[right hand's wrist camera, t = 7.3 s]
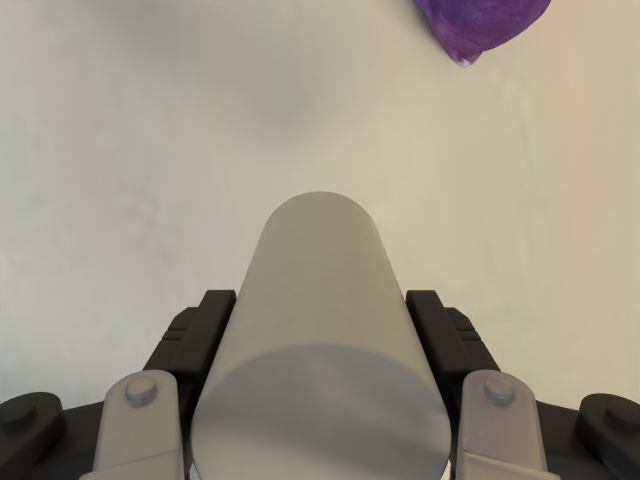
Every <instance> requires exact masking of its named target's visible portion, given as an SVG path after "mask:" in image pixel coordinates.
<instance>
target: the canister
mask: <svg viewBox="0 0 640 480" xmlns="http://www.w3.org/2000/svg"><path fill="white" fill-rule="evenodd" d="M190 447H191V454H192V458H193V462H194V466H195V468H196V470H197V473H198V475H199V477H200V479H201V480H440V479H441V477H442V476H443V473H444V471H445V468H446V466H447V463H448V459H449V455H450V450H451V427H450V421H449V417H448V414H447V411H446V408H445V405H444V403H443V400H442V397H441V395H440V392H439V390H438V387H437V384H436V382H435V379H434V376H433V374H432V371H431V369H430V366H429V363H428V361H427V358H426V356H425V353H424V350H423V348H422V345H421V342H420V340H419V337H418V335H417V332H416V329H415V327H414V324H413V322H412V319H411V316H410V314H409V311H408V308H407V306H406V303H405V301H404V298H403V295H402V293H401V290H400V288H399V285H398V282H397V280H396V277H395V274H394V272H393V269H392V267H391V264H390V261H389V259H388V256H387V254H386V251H385V248H384V246H383V243H382V240H381V238H380V235H379V233H378V230H377V228H376V225H375V223H374V221H373V220H372V218H371V217H370V215H369V214H368V213H367V212H366V211H365V210H364V209H363V208H362V207H361V206H360V205H359V204H357V203H356V202H354V201H353V200H351V199H349V198H347V197H345V196H342V195H339V194H336V193H331V192H309V193H304V194H301V195H298V196H295V197H293V198H291V199H289V200H288V201H286V202H285V203H283V204H282V205H280V206H279V207H278V208H277V209H276V210H275V211H274V212H273V213H272V215H271V216H270V217H269V219H268V220H267V222H266V224H265V226H264V228H263V231H262V234H261V236H260V239H259V242H258V244H257V247H256V250H255V252H254V255H253V258H252V260H251V263H250V265H249V268H248V271H247V273H246V276H245V279H244V281H243V284H242V287H241V289H240V292H239V295H238V297H237V300H236V303H235V305H234V308H233V311H232V313H231V316H230V319H229V321H228V324H227V326H226V329H225V332H224V334H223V337H222V340H221V342H220V345H219V348H218V350H217V353H216V356H215V358H214V361H213V364H212V366H211V369H210V372H209V374H208V377H207V379H206V382H205V385H204V387H203V390H202V393H201V395H200V398H199V401H198V403H197V406H196V409H195V412H194V415H193V419H192V422H191V430H190Z"/></svg>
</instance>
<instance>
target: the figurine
mask: <svg viewBox="0 0 640 480" xmlns="http://www.w3.org/2000/svg"><path fill="white" fill-rule="evenodd" d="M414 1H415V3H416V4H417V5H418V6H419V7H420V8H421V9H423V10H424V12H425V13H426V16H427V18H428V21H429V24H430V26H431V29H432V31H433V33H434V35H435V37H436V38H437V40H438V41H439V42H440V44H441V45H442V47H443V48H444V49H445V51H446V52H447V54H448V55H449V56H450V58H451V59H452V60H453V61H454V62H455V63H457V64H458V65H460V66H462V67H465V68H466V67H469V66H470V65H472V64H473V63H474V62H475V61H476V60H477V59H478V58H479V56H480V55H481V53H482V52H483V51H487V50H490V49H493V48H495V47H497V46H499V45H501V44H504V43H506V42H507V41H509V40H511V39H512V38H514V37H515V36H517V35H518V34H520V33H521V32H523V31H524V30H525V29H527V28H528V27H529V26H530V25H531V24H532V23H533V22H535V21H536V20H537V19H538V18H539V17H540V16H541V15H542V14H543V13H544V12H545V10H546V9H547V7H548V5H549V4H550V2H551V0H414Z"/></svg>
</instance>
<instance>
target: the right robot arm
mask: <svg viewBox="0 0 640 480" xmlns="http://www.w3.org/2000/svg"><path fill="white" fill-rule="evenodd" d="M236 300H237V299H236V293H235V291H234V290H207V292H206V294H205V295H204V297H203V299H202V301H201V303H200V305H199V307H188V308H186V309H185V310H184V311H182V312H181V313H179V314H178V315H177V316H175V317H174V319H173V321H172V322H171V324H170V326H169V327H168V331H166V332H165V334H164V335H163V337H162V341H160V342H159V344H158V345H157V347H156V349H155V350H154V352H153V353H152V355H151V357H150V358H149V360H148V362H147V363H146V365H145V367H144V368H143V370H142V371H140V372H136V373H133V374H131V375H128V376H126V377H124V378H123V379H121V380H119V381H118V382H117V383H115V384H114V385H113V386H112V387H111V388H110V390H109V391H108V392H107V394H106V396H105V400H104V401H102V402H98V403H94V404H90V405H85V406H81V407H76V408H72V409H67V410H63V408H62V405H61V401H60V399H59V398H58V397H57V396H56V395H54V394H52V393H47V392H35V393H29V394H24V395H21V396H18V397H15V398H12V399H10V400H8V401H6V402H4V403H2V404H0V480H191V474H190V469H191V466H192V463H193V458H192V454H191V447H190V430H191V422H192V419H193V415H194V412H195V409H196V406H197V403H198V401H199V398H200V395H201V393H202V390H203V387H204V385H205V382H206V379H207V377H208V374H209V372H210V369H211V366H212V364H213V361H214V358H215V356H216V353H217V350H218V348H219V345H220V342H221V340H222V337H223V334H224V332H225V329H226V326H227V324H228V321H229V319H230V316H231V313H232V311H233V308H234V305H235V303H236ZM405 303H406V306H407V308H408V311H409V314H410V316H411V319H412V322H413V324H414V327H415V329H416V332H417V335H418V337H419V340H420V342H421V345H422V348H423V350H424V353H425V356H426V358H427V361H428V363H429V366H430V369H431V371H432V374H433V376H434V379H435V382H436V384H437V387H438V390H439V392H440V395H441V397H442V400H443V403H444V405H445V408H446V411H447V414H448V417H449V421H450V427H451V450H450V455H449V460H450V463H451V467H450V474H449V480H640V405H639V404H637V403H635V402H633V401H631V400H628V399H626V398H623V397H620V396H616V395H612V394H604V393H596V394H591V395H588V396H586V397H584V399H583V400H582V402H581V405H580V408H579V411H577V410H573V409H568V408H564V407H559V406H555V405H550V404H546V403H543V402H540V401H537V400H535V396H534V394H533V392H532V391H531V390H530V388H529V387H528V386H527V385H526V384H525V383H523V382H522V381H521V380H519V379H517V378H516V377H514V376H512V375H509V374H507V373H504V372H501V370H500V369H499V367H498V366H497V364H496V362H495V361H494V359H493V357H492V356H491V354H490V353H489V351H488V349H487V348H486V346H485V344H484V343H483V341H481V338H480V336H479V335H478V333H477V332H476V331H475V328H474V327H473V325H472V323H471V322H470V320H469V319H468V317H466V316H465V315H464V314H462V313H461V312H460V311H458V310H457V309H456V308H444V306H443V304H442V303H441V301H440V299H439V297H438V295H437V293H436V292H435V291H434V290H408V291H407V294H406V301H405Z"/></svg>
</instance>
